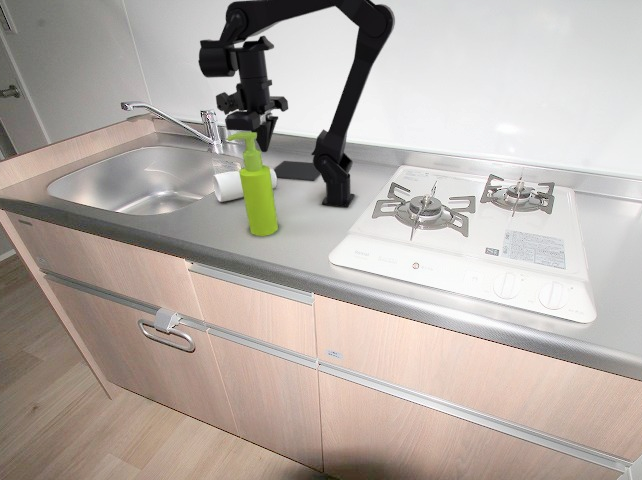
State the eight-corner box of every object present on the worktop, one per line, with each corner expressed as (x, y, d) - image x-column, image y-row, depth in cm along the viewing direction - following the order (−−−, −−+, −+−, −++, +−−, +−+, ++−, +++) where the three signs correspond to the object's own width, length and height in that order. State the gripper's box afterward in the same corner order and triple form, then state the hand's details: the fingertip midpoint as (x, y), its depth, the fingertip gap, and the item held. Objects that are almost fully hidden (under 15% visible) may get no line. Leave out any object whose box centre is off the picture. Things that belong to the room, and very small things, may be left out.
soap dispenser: (247, 223, 80) (229, 130, 68) (278, 221, 80) (265, 127, 68) (244, 237, 75) (224, 139, 64) (277, 234, 75) (263, 137, 64)
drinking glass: (274, 194, 97) (219, 206, 91) (266, 171, 97) (210, 181, 91) (281, 184, 91) (222, 196, 84) (272, 159, 91) (213, 169, 85)
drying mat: (313, 181, 98) (313, 179, 97) (266, 177, 102) (266, 175, 101) (327, 165, 107) (327, 163, 106) (284, 162, 111) (284, 160, 110)
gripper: (241, 69, 84) (252, 138, 93) (194, 84, 70) (212, 163, 79) (285, 69, 81) (292, 140, 90) (244, 84, 67) (258, 167, 76)
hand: (264, 151), depth 84 cm, fingers closed
